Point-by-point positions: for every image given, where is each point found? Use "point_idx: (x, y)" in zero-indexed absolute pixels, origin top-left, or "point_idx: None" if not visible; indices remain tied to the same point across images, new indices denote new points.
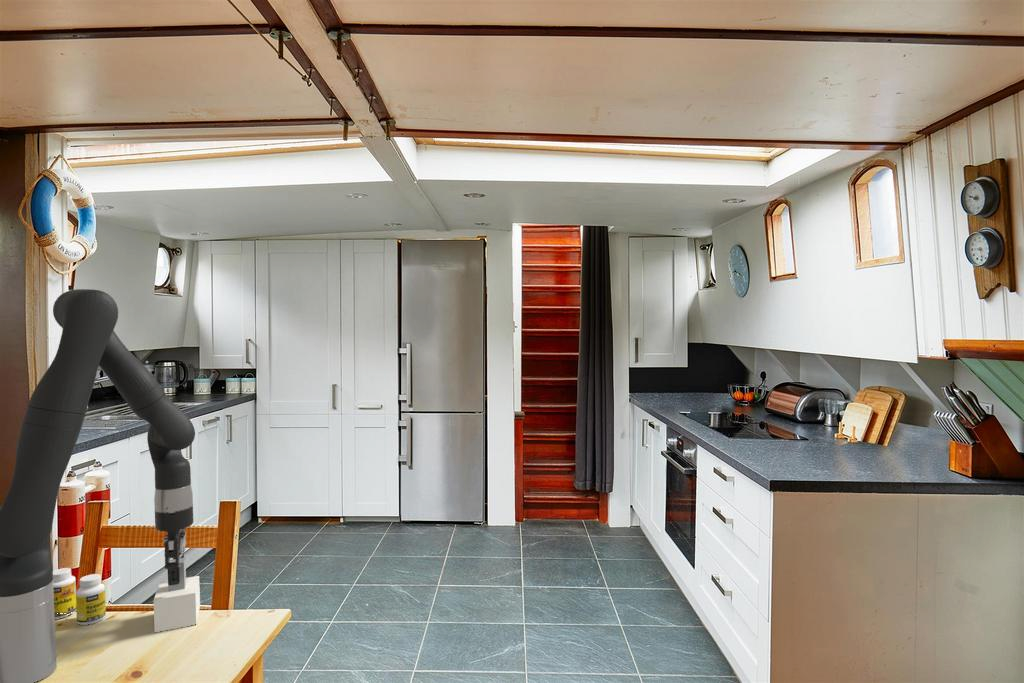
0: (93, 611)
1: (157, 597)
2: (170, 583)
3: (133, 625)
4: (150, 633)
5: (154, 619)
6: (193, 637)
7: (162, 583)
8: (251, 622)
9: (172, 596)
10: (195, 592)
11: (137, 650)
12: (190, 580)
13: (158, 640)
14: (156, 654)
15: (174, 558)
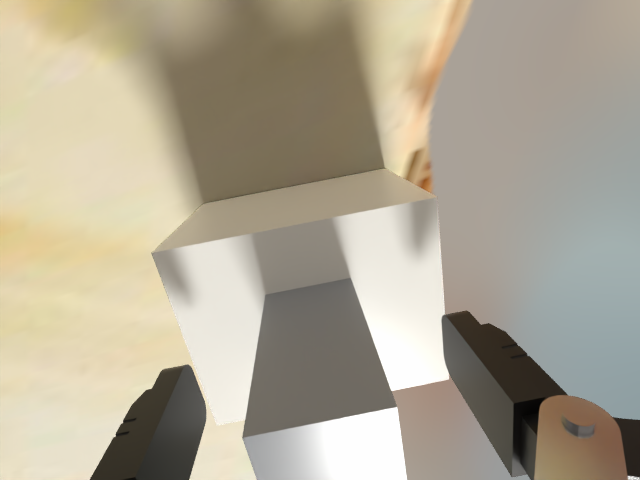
0: None
1: (187, 262)
2: (146, 394)
3: (293, 85)
4: (203, 187)
5: (187, 219)
6: (150, 343)
7: (405, 220)
8: (227, 465)
9: (187, 338)
10: (223, 423)
11: (66, 187)
12: (395, 358)
13: (140, 237)
14: (35, 266)
15: (493, 388)
